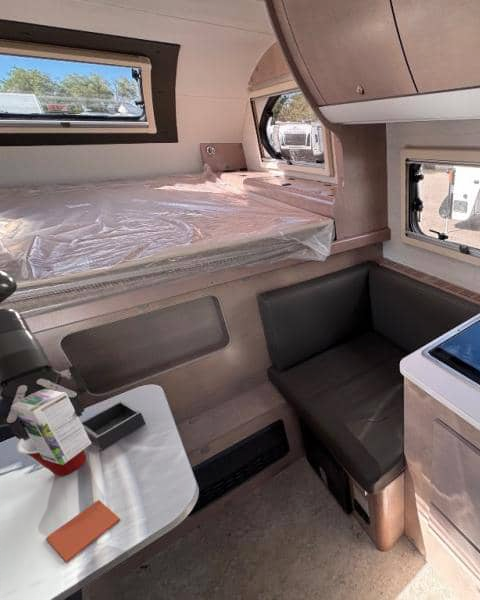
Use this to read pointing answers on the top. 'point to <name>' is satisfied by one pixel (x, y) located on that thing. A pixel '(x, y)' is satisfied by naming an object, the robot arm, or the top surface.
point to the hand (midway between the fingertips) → (54, 426)
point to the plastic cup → (55, 468)
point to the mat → (82, 530)
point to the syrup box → (52, 425)
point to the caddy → (116, 431)
